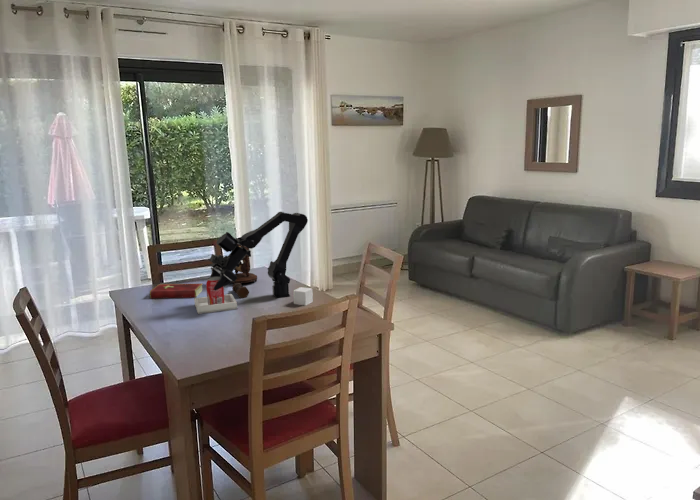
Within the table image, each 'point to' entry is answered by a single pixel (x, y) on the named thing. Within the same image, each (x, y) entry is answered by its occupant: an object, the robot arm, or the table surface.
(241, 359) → the table surface
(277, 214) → the robot arm
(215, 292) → the soda can
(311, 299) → the white cube
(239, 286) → the bolt
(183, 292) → the hardcover book
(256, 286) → the table surface
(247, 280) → the brown round based stand
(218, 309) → the tray
